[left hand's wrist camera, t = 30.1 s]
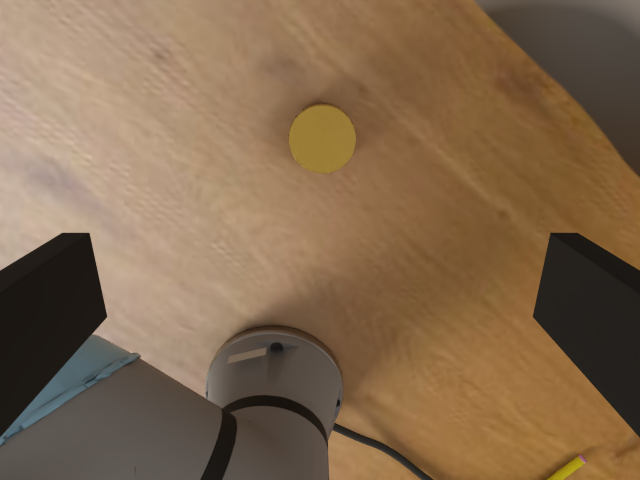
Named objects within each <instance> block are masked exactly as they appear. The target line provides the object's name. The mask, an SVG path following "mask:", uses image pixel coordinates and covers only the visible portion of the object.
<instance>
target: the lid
mask: <svg viewBox="0 0 640 480" xmlns="http://www.w3.org/2000/svg"><path fill="white" fill-rule="evenodd" d="M295 118H296V119H295V120H294V122H293V124H292V125H291V129H290V133H289V146H290V149H291V152H292V155H293V156H294V158H295V159H296V161H297V162H298V163H299V164H300V165H301V166H302V167H304V168H305V169H307V170H309V171H312V172H316V173H329V172H333V171H335V170H338V169H339V168H341V167H342V166H343V165H345V164H346V163H347V162H348V160H349V159H350V158H351V156H352V154H353V151H354V148H355V144H356V135H355V134H356V132H355V130H354V127H353V123H352V122H351V121H350V119H349V118H348V115H347V114H345V113H344V112H343V111H342V110H341V109H340V108H337V107H335V106H333V105H331V104H330V105H329V104H322V103H321V104H315V105H311V106H310V107H307V108H306V109H303V110H302V112H301V113H300V114H299V115H298V116H296V117H295Z"/></svg>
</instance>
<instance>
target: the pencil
mask: <svg viewBox="0 0 640 480" xmlns="http://www.w3.org/2000/svg"><path fill="white" fill-rule="evenodd" d="M586 462H587V461H586V459H585V458H584V457H583V456H582V455H579V456H577V457H576V458H575V459H573V460H572V461H571V462H569V463H568V464H567V465H565V466H564V467H562V468H561V469H560V470H558V471H557V472H556V473H554V474H553V475H552V476H550V477H549V478H548V479H546V480H563V479H564V478H566V477H567V476H569V475H570V474H571V473H573V472H574V471H575V470H577V469H578V468H579V467H581V466H582V465H584V464H585V463H586Z"/></svg>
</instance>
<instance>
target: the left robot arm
mask: <svg viewBox="0 0 640 480" xmlns="http://www.w3.org/2000/svg"><path fill="white" fill-rule="evenodd" d="M106 318H107V314H106V309H105V304H104V299H103V295H102V290H101V285H100V281H99V276H98V271H97V266H96V262H95V257H94V252H93V248H92V243H91V238H90V233H61V234H60V235H58V236H57V237H55V238H53V239H52V240H50V241H48V242H47V243H45V244H43V245H42V246H40V247H38V248H37V249H35V250H33V251H32V252H30V253H29V254H27V255H25V256H24V257H22V258H20V259H19V260H17V261H15V262H14V263H12V264H10V265H9V266H7V267H5V268H4V269H2V270H1V271H0V480H329V464H328V439H329V437H330V434H331V431H332V430H334V431H336V432H338V433H340V434H343V435H345V436H347V437H349V438H352V439H354V440H356V441H359V442H361V443H364V444H366V445H369V446H372V447H374V448H377V449H379V450H381V451H383V452H385V453H387V454H388V455H390V456H392V457H393V458H395V459H396V460H397V461H399V462H400V463H402V464H403V465H404V466H405V467H407V468H408V469H409V470H410V471H412V472H413V473H414V474H415V475H417V476H418V477H419V478H420V479H422V480H433V479H432V478H430V477H429V476H428V475H426V474H425V473H424V472H422V471H421V470H420V469H419V468H417V467H416V466H415V465H414V464H413V463H411V462H410V461H409V460H407V459H406V458H405V457H404V456H402V455H401V454H399V453H398V452H396V451H395V450H393V449H392V448H390V447H388V446H387V445H385V444H383V443H381V442H378V441H376V440H373V439H371V438H368V437H365V436H363V435H360V434H358V433H356V432H354V431H351V430H349V429H347V428H345V427H343V426H340V425H338V424H336V423H335V420H336V418H337V416H338V413H339V411H340V407H341V403H342V398H343V381H342V373H341V369H340V366H339V364H338V361H337V360H336V358H335V356H334V355H333V354H332V352H331V351H330V350H329V349H328V348H327V347H326V346H325V345H324V344H323V343H322V342H321V341H319V340H318V339H316V338H315V337H313V336H311V335H309V334H307V333H305V332H302V331H300V330H297V329H293V328H288V327H281V326H265V327H258V328H253V329H250V330H247V331H244V332H242V333H240V334H238V335H236V336H234V337H233V338H231V339H230V340H228V341H227V342H226V343H225V344H224V345H223V346H222V347H221V348H220V349H219V350H218V352H217V353H216V355H215V357H214V358H213V361H212V363H211V366H210V368H209V371H208V374H207V378H206V387H205V395H206V398H204V397H202V396H201V395H199V394H197V393H196V392H194V391H192V390H191V389H189V388H188V387H186V386H184V385H183V384H181V383H179V382H178V381H176V380H174V379H173V378H171V377H169V376H168V375H166V374H165V373H163V372H161V371H160V370H158V369H156V368H155V367H153V366H151V365H150V364H148V363H146V362H145V361H143V360H142V359H140V357H141V356H140V355H139V354H138V353H130V352H128V351H126V350H124V349H122V348H120V347H118V346H117V345H115V344H113V343H111V342H109V341H107V340H105V339H103V338H101V337H99V336H97V335H93V334H92V333H93V332H94V331H95V330H96V329H97V328H98V327H99V325H100V324H101V323H102V322H103V321H104V320H105V319H106ZM533 318H534V319H535V320H536V321H537V322H538V323H539V324H540V325H541V327H542V328H543V329H544V330H545V331H546V332H547V333H548V334H549V336H550V337H551V338H552V339H553V340H554V341H555V342H556V344H557V345H558V346H559V347H560V348H561V349H562V350H563V351H564V353H565V354H566V355H567V356H568V357H569V358H570V359H571V360H572V362H573V363H574V364H575V365H576V366H577V367H578V368H579V369H580V371H581V372H582V373H583V374H584V375H585V376H586V377H587V379H588V380H589V381H590V382H591V383H592V384H593V385H594V386H595V388H596V389H597V390H598V391H599V392H600V393H601V394H602V395H603V397H604V398H605V399H606V400H607V401H608V402H609V403H610V404H611V406H612V407H613V408H614V409H615V410H616V411H617V412H618V413H619V415H620V416H621V417H622V418H623V419H624V420H625V421H626V423H627V424H628V425H629V426H630V427H631V428H632V429H633V430H634V432H635V433H636V434H637V435H638V436H639V437H640V271H639V270H638V269H636V268H635V267H633V266H631V265H630V264H628V263H626V262H625V261H623V260H621V259H620V258H618V257H616V256H615V255H613V254H611V253H610V252H608V251H607V250H605V249H603V248H602V247H600V246H598V245H597V244H595V243H593V242H592V241H590V240H588V239H587V238H585V237H583V236H582V235H580V234H579V233H550V238H549V243H548V248H547V252H546V257H545V262H544V266H543V271H542V276H541V281H540V285H539V290H538V295H537V299H536V304H535V309H534V314H533Z"/></svg>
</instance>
